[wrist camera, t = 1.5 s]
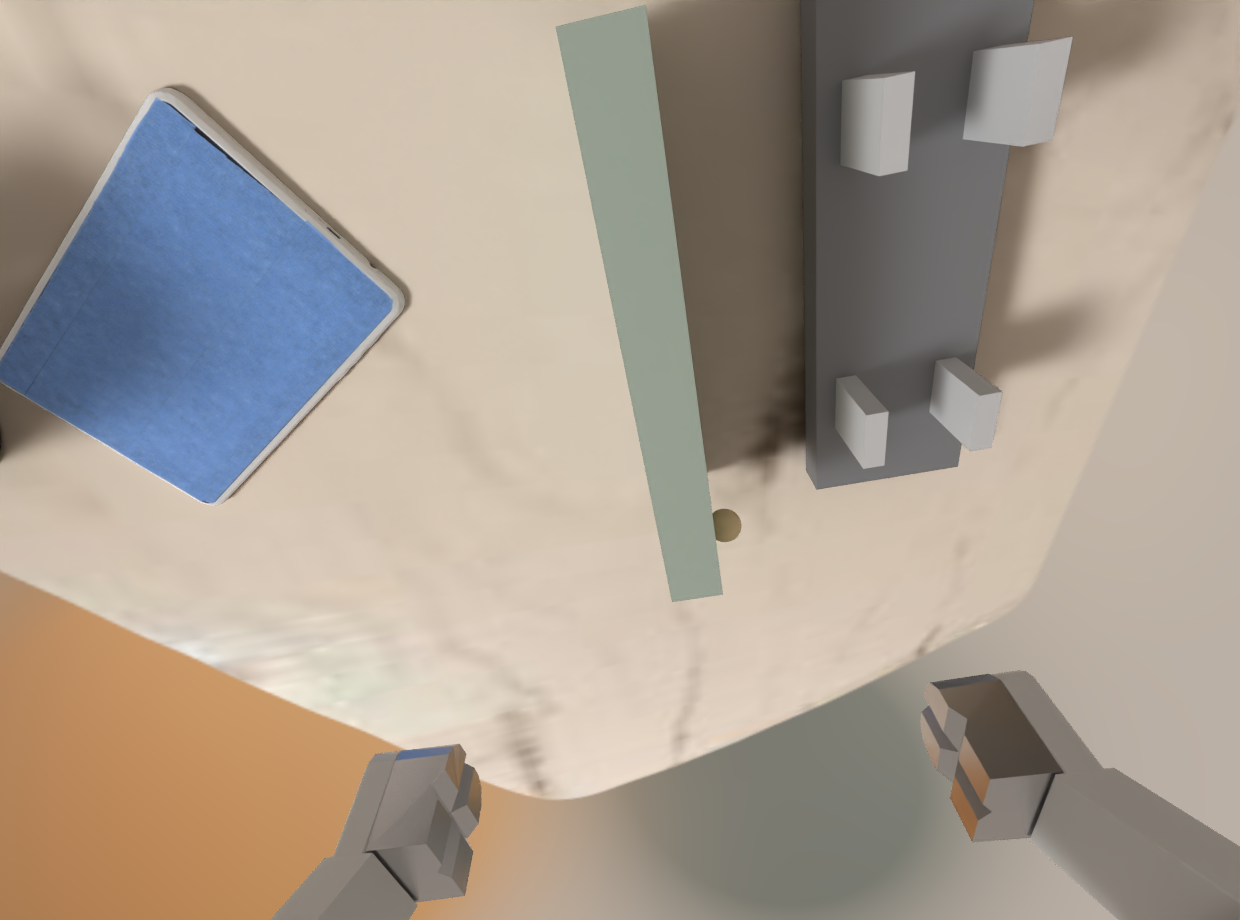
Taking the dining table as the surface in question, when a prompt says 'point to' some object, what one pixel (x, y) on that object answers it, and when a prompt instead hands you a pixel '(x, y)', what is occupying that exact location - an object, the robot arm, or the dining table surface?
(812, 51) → the hinge base
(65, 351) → the tablet computer
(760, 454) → the dining table surface
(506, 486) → the dining table surface
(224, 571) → the dining table surface
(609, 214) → the cabinet door
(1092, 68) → the dining table surface
